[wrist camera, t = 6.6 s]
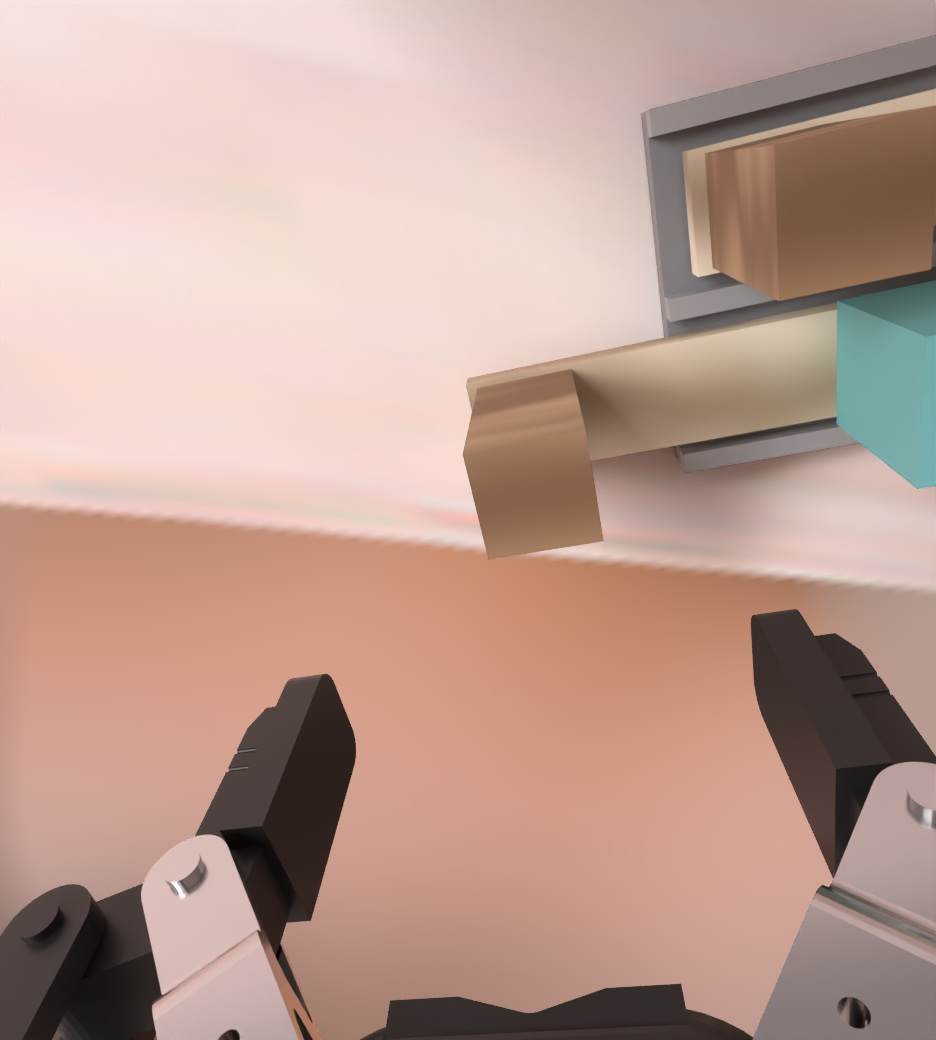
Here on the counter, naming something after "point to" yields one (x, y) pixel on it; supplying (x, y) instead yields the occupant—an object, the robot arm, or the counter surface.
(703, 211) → the short strip
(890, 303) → the teal cube
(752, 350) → the cube strip
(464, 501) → the counter surface
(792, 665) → the robot arm
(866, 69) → the lane board
